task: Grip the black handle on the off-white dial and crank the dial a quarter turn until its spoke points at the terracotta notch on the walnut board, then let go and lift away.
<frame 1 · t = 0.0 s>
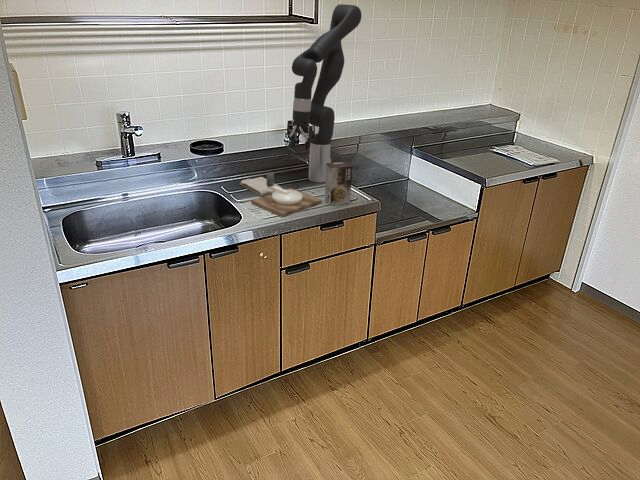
hand: (299, 147, 222), 17 cm above the countertop, tool pointing down, fingers open, 8 cm apart
coffee box: (337, 202, 214), on the countertop
dial board: (287, 203, 210), on the countertop
washcloth: (261, 189, 224), on the countertop
dial: (282, 187, 209), point 6 cm above the countertop, hinge at -90.0°
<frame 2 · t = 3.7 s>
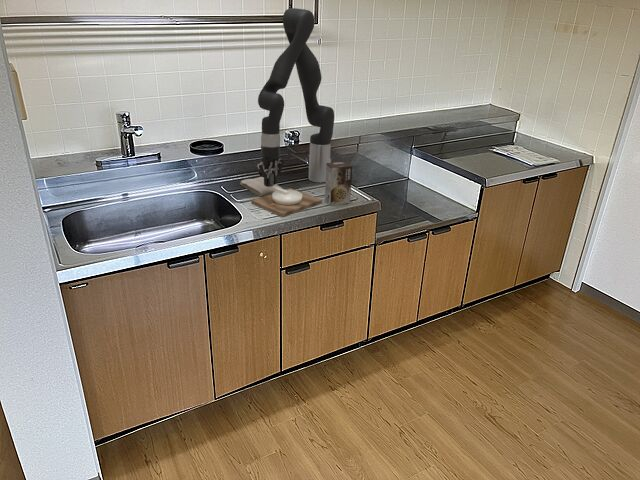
hand: (270, 184, 213), 5 cm above the countertop, tool pointing down, fingers closed on dial, 3 cm apart
dial: (282, 187, 209), point 6 cm above the countertop, hinge at -90.0°, touching gripper
everything else where it was.
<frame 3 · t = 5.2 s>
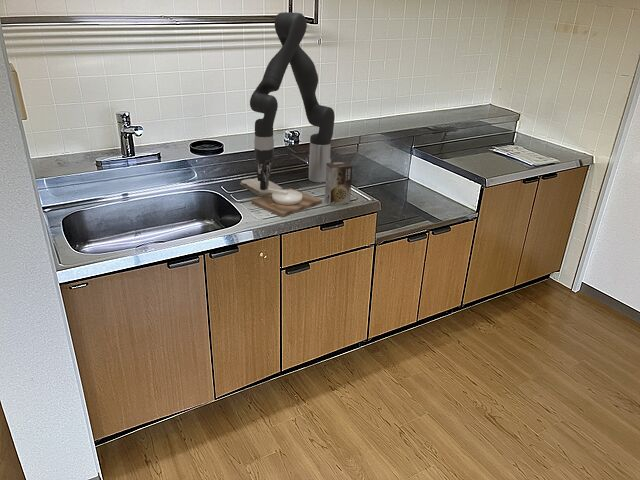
hand: (264, 187, 210), 5 cm above the countertop, tool pointing down, fingers closed on dial, 3 cm apart
dial: (280, 188, 208), point 6 cm above the countertop, hinge at -65.9°, touching gripper
everything else where it was.
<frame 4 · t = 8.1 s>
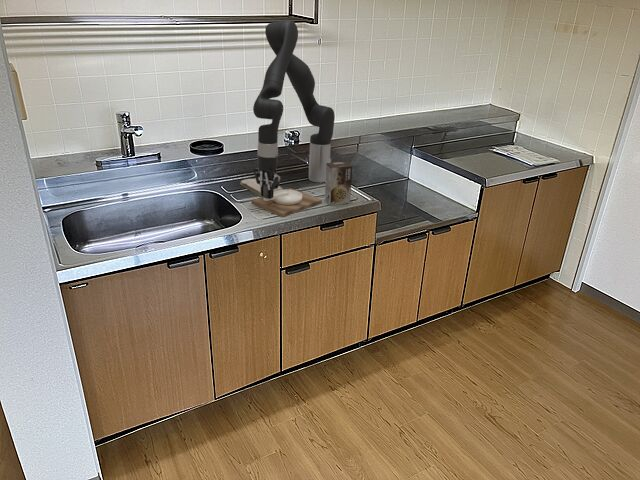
hand: (266, 196, 201), 5 cm above the countertop, tool pointing down, fingers closed on dial, 3 cm apart
dial: (281, 191, 205), point 6 cm above the countertop, hinge at -5.5°, touching gripper
everything else where it was.
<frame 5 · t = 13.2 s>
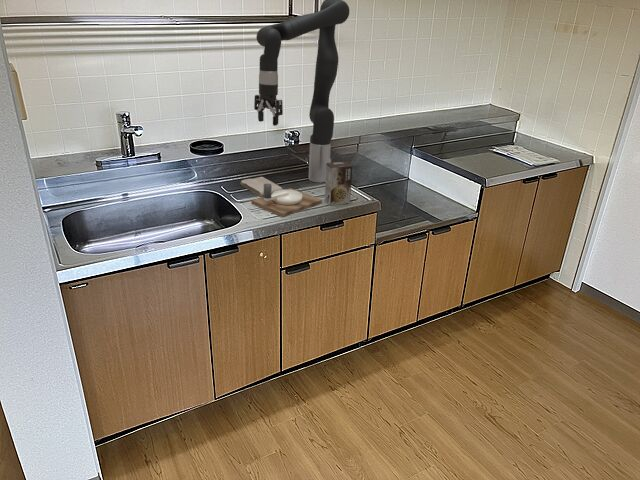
hand: (268, 123, 212), 28 cm above the countertop, tool pointing down, fingers open, 8 cm apart
dial: (282, 191, 205), point 6 cm above the countertop, hinge at -4.4°
everything else where it was.
at the end: dial at -4° (first picture: -90°); coffee box moved 0.2 cm from its start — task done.
